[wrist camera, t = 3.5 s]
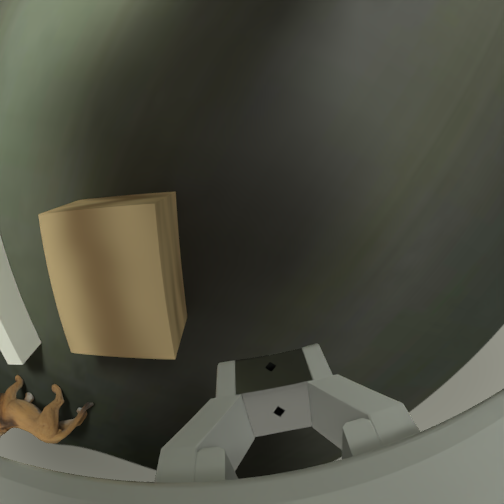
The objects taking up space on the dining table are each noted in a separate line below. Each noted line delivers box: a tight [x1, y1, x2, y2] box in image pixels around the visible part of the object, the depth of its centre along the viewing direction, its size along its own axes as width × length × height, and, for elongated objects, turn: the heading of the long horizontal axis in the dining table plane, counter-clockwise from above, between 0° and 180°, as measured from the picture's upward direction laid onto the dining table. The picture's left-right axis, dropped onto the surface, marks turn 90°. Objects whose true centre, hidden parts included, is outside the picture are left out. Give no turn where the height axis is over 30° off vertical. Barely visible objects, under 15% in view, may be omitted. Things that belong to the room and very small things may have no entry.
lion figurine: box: [0, 375, 94, 443], centre depth 23 cm, size 15×5×9 cm, turn 96°
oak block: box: [38, 192, 187, 359], centre depth 20 cm, size 8×10×6 cm
